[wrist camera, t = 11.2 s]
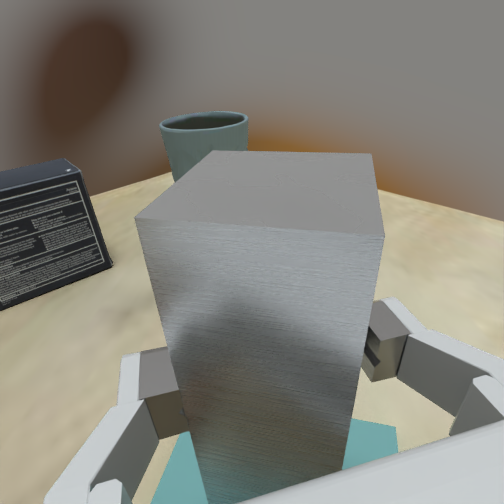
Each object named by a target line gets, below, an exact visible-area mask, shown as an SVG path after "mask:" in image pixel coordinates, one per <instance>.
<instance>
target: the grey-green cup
mask: <svg viewBox="0 0 504 504" xmlns="http://www.w3.org/2000/svg"><path fill="white" fill-rule="evenodd" d="M159 127H160V130H161V134H162V138H163V141H164V145H165V148H166V151H167V155H168V158H169V161H170V167H171V169H172V175H173V179H174V181H175V182H176V181H178V180H179V179H180V178H181V177H182V176H183V175H185V174H186V173H187V172H188V171H189V170H190V169H192V168H193V167H194V166H195V165H196V164H197V163H199V162H200V161H201V160H202V159H203V158H204V157H206V156H207V155H208V154H209V153H210V152H212V151H213V150H218V151H248V149H247V145H248V117H247V116H246V115H245V114H242V113H238V112H227V111H215V112H214V111H212V112H200V113H192V114H187V115H181V116H176V117H172V118H169V119H166V120H164V121H162V122H161V123H160V125H159Z"/></svg>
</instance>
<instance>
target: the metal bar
mask: <svg viewBox="0 0 504 504" xmlns="http://www.w3.org/2000/svg"><path fill="white" fill-rule="evenodd" d="M134 219H135V223H136V227H137V230H138V234H139V238H140V242H141V246H142V250H143V254H144V258H145V261H146V265H147V269H148V273H149V277H150V281H151V285H152V288H153V292H154V296H155V300H156V304H157V308H158V312H159V316H160V319H161V323H162V327H163V331H164V335H165V339H166V343H167V346H168V350H169V354H170V358H171V362H172V366H173V370H174V373H175V377H176V381H177V385H178V389H179V391H180V395H181V398H182V402H183V408H184V412H185V416H186V418H187V422H188V426H189V430H190V435H191V439H192V443H193V447H194V451H195V455H196V458H197V462H198V466H199V470H200V474H201V478H202V482H203V486H204V489H205V493H206V497H207V501H208V504H236V503H239V502H242V501H245V500H249V499H252V498H255V497H258V496H261V495H264V494H268V493H271V492H274V491H277V490H280V489H284V488H287V487H290V486H293V485H296V484H300V483H303V482H306V481H309V480H312V479H316V478H319V477H322V476H325V475H328V474H332V473H335V472H338V471H341V470H342V467H343V461H344V456H345V450H346V445H347V440H348V434H349V429H350V423H351V418H352V412H353V407H354V401H355V396H356V390H357V385H358V380H359V374H360V369H361V363H362V358H363V352H364V347H365V341H366V336H367V330H368V325H369V320H370V314H371V309H372V303H373V298H374V292H375V287H376V281H377V276H378V270H379V265H380V260H381V254H382V249H383V243H384V238H385V233H384V227H383V221H382V215H381V209H380V203H379V197H378V191H377V185H376V179H375V173H374V167H373V161H372V155H371V154H361V153H358V154H357V153H314V152H313V153H312V152H266V151H265V152H264V151H218V150H213V151H212V152H210V153H209V154H208V155H207V156H206V157H204V158H203V159H202V160H201V161H200V162H199V163H197V164H196V165H195V166H194V167H193V168H192V169H190V170H189V171H188V172H187V173H186V174H185V175H183V176H182V177H181V178H180V179H179V180H178V181H176V182H175V183H174V184H173V185H172V186H171V187H169V188H168V189H167V190H166V191H165V192H163V193H162V194H161V195H160V196H159V197H158V198H156V199H155V200H154V201H153V202H152V203H151V204H149V205H148V206H147V207H146V208H145V209H144V210H142V211H141V212H140V213H139V214H138V215H137V216H135V217H134Z"/></svg>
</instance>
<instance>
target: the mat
mask: <svg viewBox="0 0 504 504" xmlns="http://www.w3.org/2000/svg"><path fill="white" fill-rule="evenodd" d="M395 453H398V445H397V437H396V428H395V427H393V426H388V425H383V424H378V423H373V422H368V421H362V420H357V419H352V418H351V423H350V429H349V434H348V440H347V445H346V450H345V456H344V461H343V467H342V470H344V469H347V468H351V467H354V466H357V465H360V464H363V463H367V462H370V461H373V460H376V459H379V458H383V457H386V456H389V455H392V454H395ZM151 504H208V501H207V497H206V493H205V489H204V486H203V482H202V478H201V474H200V470H199V466H198V462H197V458H196V455H195V451H194V447H193V443H192V439H191V435H190V431H188V432H184V433H181V434H180V435H179V438H178V440H177V443H176V445H175V447H174V450H173V452H172V454H171V457H170V459H169V461H168V464H167V466H166V468H165V471H164V473H163V476H162V478H161V480H160V483H159V485H158V487H157V490H156V492H155V494H154V497H153V499H152V502H151Z"/></svg>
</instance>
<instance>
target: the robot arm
mask: <svg viewBox="0 0 504 504" xmlns="http://www.w3.org/2000/svg"><path fill="white" fill-rule="evenodd" d="M361 367H362V369H363V370H364V372H365V373H366V375H367V376H368V378H369V379H370V381H371V382H376V381H380V380H384V379H389V378H393V377H397V379H399V380H400V381H402V382H403V383H405V384H406V385H408V386H409V387H411V388H412V389H414V390H415V391H417V392H418V393H420V394H421V395H423V396H424V397H426V398H427V399H429V400H430V401H432V402H433V403H435V404H436V405H438V406H439V407H441V408H442V409H444V410H445V411H447V412H448V413H450V414H451V415H453V416H454V417H455V419H454V421H453V423H452V426H451V428H450V431H449V435H450V437H447V438H444V439H440V440H437V441H434V442H431V443H428V444H424V445H421V446H418V447H415V448H412V449H408V450H405V451H402V452H399V453H395V454H392V455H389V456H386V457H383V458H379V459H376V460H373V461H370V462H367V463H363V464H360V465H357V466H354V467H351V468H347V469H344V470H341V471H338V472H335V473H332V474H328V475H325V476H322V477H319V478H316V479H312V480H309V481H306V482H303V483H300V484H296V485H293V486H290V487H287V488H284V489H280V490H277V491H274V492H271V493H268V494H264V495H261V496H258V497H255V498H252V499H249V500H245V501H242V502H239V503H236V504H504V359H502V358H499V357H497V356H494V355H492V354H490V353H487V352H485V351H483V350H480V349H478V348H475V347H473V346H471V345H468V344H466V343H464V342H461V341H459V340H457V339H454V338H452V337H449V336H447V335H445V334H442V333H440V332H438V331H435V330H433V329H431V330H427V329H426V328H425V327H424V326H423V324H422V323H421V322H420V321H419V320H418V319H417V318H416V317H415V316H414V315H413V314H412V313H411V312H410V311H409V310H408V309H407V308H406V307H405V306H404V305H403V304H402V303H401V302H400V301H399V300H398V299H397V298H395V297H389V298H385V299H380V300H376V301H373V303H372V309H371V314H370V320H369V325H368V330H367V336H366V341H365V347H364V352H363V358H362V363H361ZM188 431H190V430H189V426H188V422H187V418H186V416H185V412H184V408H183V402H182V398H181V395H180V391H179V389H178V385H177V381H176V377H175V373H174V370H173V366H172V362H171V358H170V354H169V350H168V346H166V347H161V348H156V349H151V350H146V351H141V352H137V353H132V354H127V355H123V356H122V359H121V364H120V375H119V385H118V396H117V406H114V407H111V408H110V409H109V411H108V412H107V413H106V415H105V416H104V417H103V419H102V420H101V421H100V423H99V424H98V425H97V427H96V428H95V429H94V431H93V432H92V434H91V435H90V436H89V438H88V439H87V440H86V442H85V443H84V444H83V446H82V447H81V448H80V450H79V451H78V452H77V454H76V455H75V457H74V458H73V459H72V461H71V462H70V463H69V465H68V466H67V467H66V469H65V470H64V471H63V473H62V474H61V475H60V477H59V478H58V480H57V481H56V482H55V484H54V485H53V486H52V488H51V489H50V490H49V492H48V493H47V494H46V496H45V498H44V502H43V504H132V502H131V501H132V499H133V497H134V495H135V493H136V490H137V488H138V486H139V484H140V482H141V480H142V478H143V476H144V473H145V471H146V469H147V467H148V465H149V463H150V461H151V459H152V456H153V454H154V452H155V450H156V448H157V446H158V444H159V440H160V439H164V438H167V437H171V436H174V435H177V434H181V433H184V432H188Z"/></svg>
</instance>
